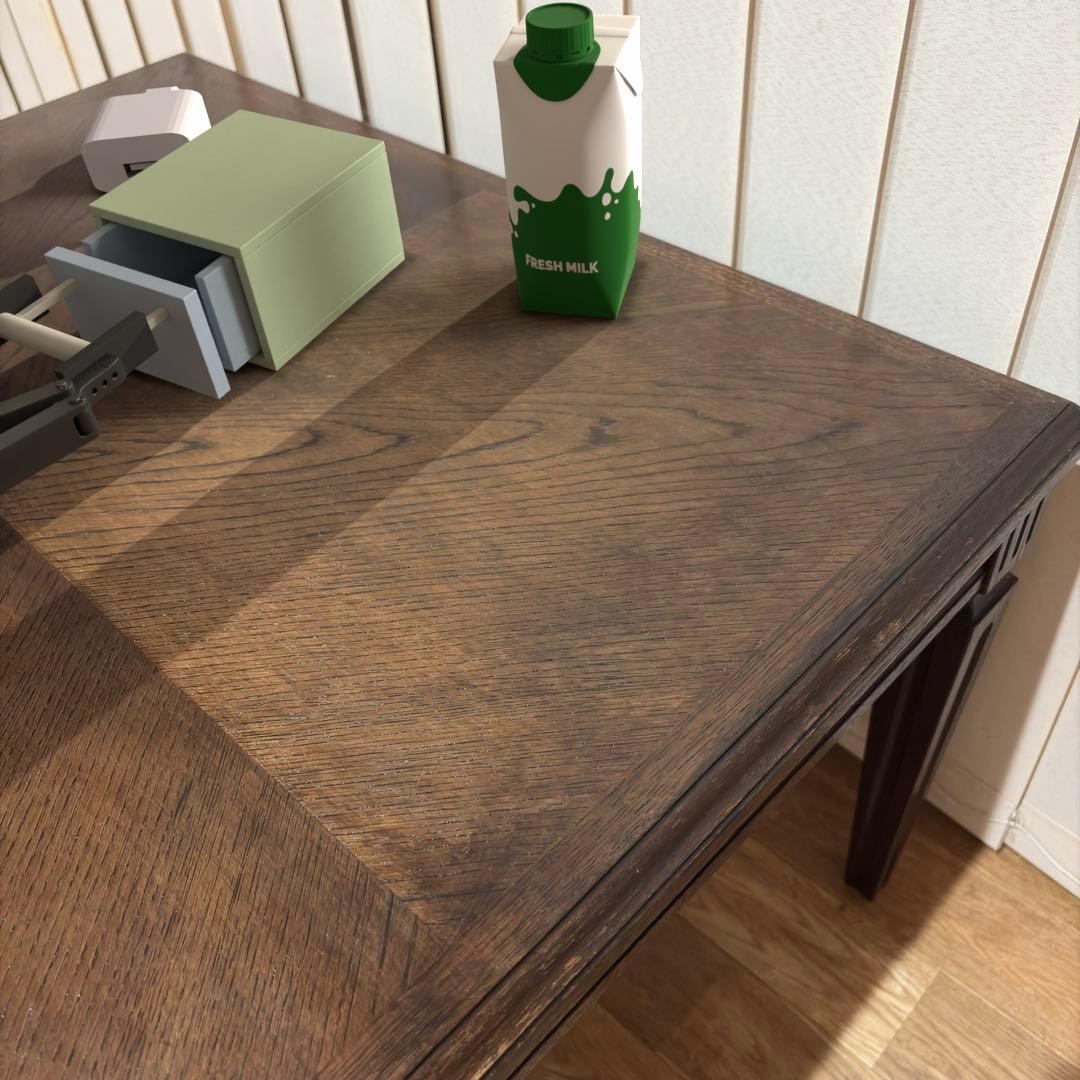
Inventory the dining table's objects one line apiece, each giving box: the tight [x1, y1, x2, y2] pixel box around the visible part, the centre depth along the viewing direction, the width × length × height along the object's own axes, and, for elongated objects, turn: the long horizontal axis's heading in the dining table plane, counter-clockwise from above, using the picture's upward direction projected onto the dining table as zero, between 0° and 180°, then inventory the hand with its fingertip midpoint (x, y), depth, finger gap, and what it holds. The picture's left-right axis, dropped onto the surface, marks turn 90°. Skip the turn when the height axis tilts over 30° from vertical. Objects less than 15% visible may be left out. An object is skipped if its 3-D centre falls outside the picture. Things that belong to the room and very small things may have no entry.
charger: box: [80, 85, 212, 193], centre depth 97 cm, size 5×9×15 cm
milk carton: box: [492, 2, 644, 320], centre depth 71 cm, size 9×9×20 cm
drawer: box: [0, 221, 262, 400], centre depth 72 cm, size 21×12×8 cm, turn 150°
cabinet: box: [88, 109, 406, 372], centre depth 77 cm, size 16×14×10 cm
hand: (90, 311), depth 67 cm, fingers closed on drawer, 9 cm apart
